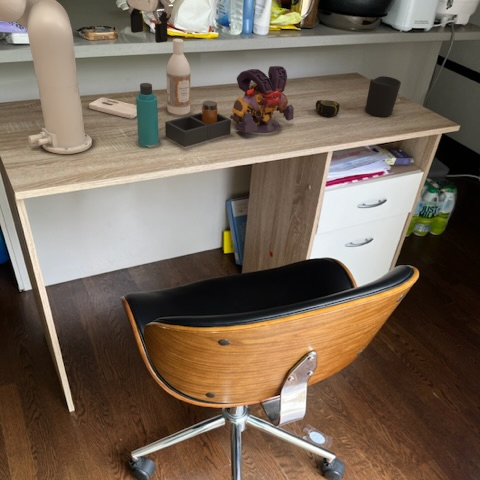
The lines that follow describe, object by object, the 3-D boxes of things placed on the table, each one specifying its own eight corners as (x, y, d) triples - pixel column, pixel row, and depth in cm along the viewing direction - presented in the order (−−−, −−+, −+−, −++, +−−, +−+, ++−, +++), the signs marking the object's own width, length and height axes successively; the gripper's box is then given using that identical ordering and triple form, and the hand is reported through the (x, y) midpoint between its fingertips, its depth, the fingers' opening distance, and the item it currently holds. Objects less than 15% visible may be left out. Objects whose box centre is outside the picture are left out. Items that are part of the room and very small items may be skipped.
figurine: (245, 143, 146) (250, 81, 135) (217, 125, 154) (220, 65, 143) (299, 130, 156) (308, 71, 145) (271, 115, 164) (277, 57, 153)
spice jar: (208, 136, 147) (208, 107, 142) (198, 130, 149) (198, 102, 144) (219, 132, 149) (221, 104, 144) (209, 127, 152) (210, 99, 146)
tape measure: (335, 111, 171) (337, 99, 168) (339, 118, 166) (342, 106, 163) (314, 110, 170) (316, 98, 168) (318, 118, 165) (320, 105, 162)
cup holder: (184, 149, 141) (184, 132, 138) (165, 138, 145) (165, 121, 142) (230, 135, 150) (231, 119, 147) (210, 125, 154) (211, 109, 151)
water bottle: (146, 149, 139) (143, 89, 129) (134, 142, 142) (130, 83, 132) (162, 144, 142) (161, 86, 132) (151, 137, 145) (148, 79, 135)
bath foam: (174, 117, 157) (173, 44, 144) (163, 109, 161) (161, 37, 148) (194, 114, 160) (195, 42, 147) (183, 106, 164) (183, 35, 151)
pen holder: (395, 119, 169) (404, 86, 162) (366, 117, 168) (374, 84, 162) (389, 108, 176) (397, 77, 169) (361, 106, 176) (368, 75, 169)
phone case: (88, 108, 158) (131, 119, 154) (87, 103, 157) (131, 114, 153) (102, 101, 163) (144, 111, 159) (102, 96, 162) (144, 106, 158)
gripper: (109, -55, 118) (115, 30, 129) (156, -42, 109) (158, 48, 120) (137, -56, 122) (140, 26, 133) (184, -43, 113) (183, 44, 124)
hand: (149, 36), depth 127 cm, fingers open, 9 cm apart
